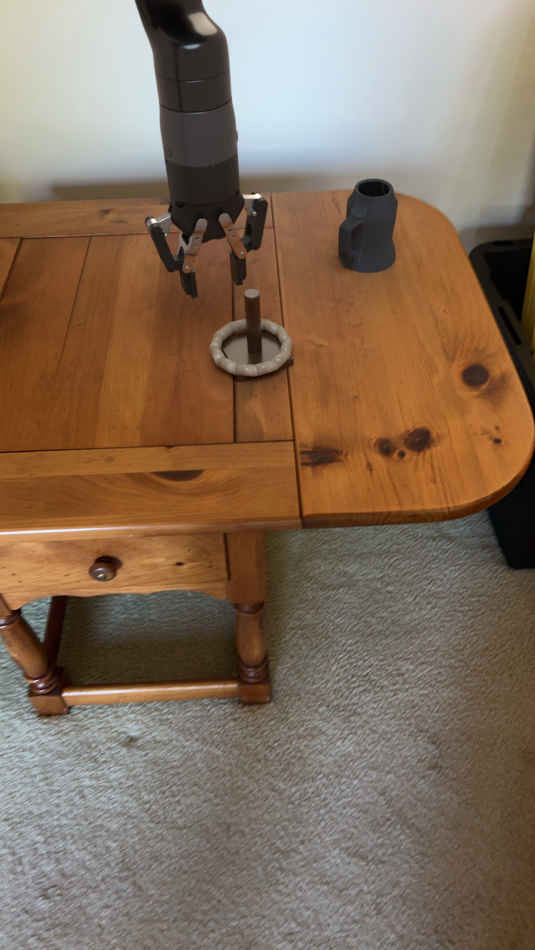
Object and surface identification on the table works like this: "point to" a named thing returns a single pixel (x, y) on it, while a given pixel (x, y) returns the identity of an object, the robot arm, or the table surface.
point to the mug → (369, 227)
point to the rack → (252, 339)
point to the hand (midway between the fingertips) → (214, 287)
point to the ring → (248, 368)
